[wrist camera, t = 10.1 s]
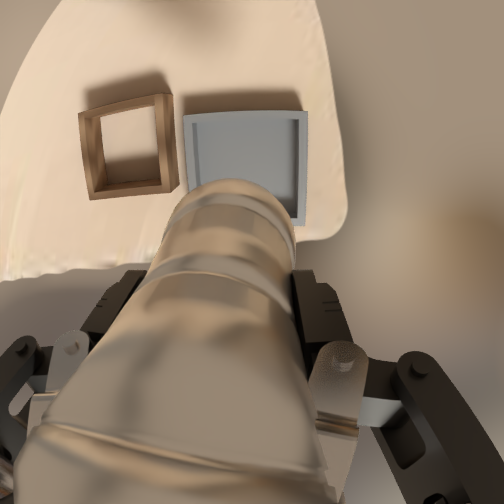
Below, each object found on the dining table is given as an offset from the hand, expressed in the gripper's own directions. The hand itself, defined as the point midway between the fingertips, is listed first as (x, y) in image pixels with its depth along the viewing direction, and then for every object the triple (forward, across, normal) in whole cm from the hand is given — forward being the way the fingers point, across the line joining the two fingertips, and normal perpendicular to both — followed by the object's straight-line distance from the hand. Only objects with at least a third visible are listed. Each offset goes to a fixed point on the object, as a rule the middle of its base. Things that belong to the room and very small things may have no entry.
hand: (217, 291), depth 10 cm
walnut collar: (+26, +15, -4) cm, 31 cm away
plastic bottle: (+7, 0, 0) cm, 7 cm away
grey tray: (+26, 0, 0) cm, 26 cm away
